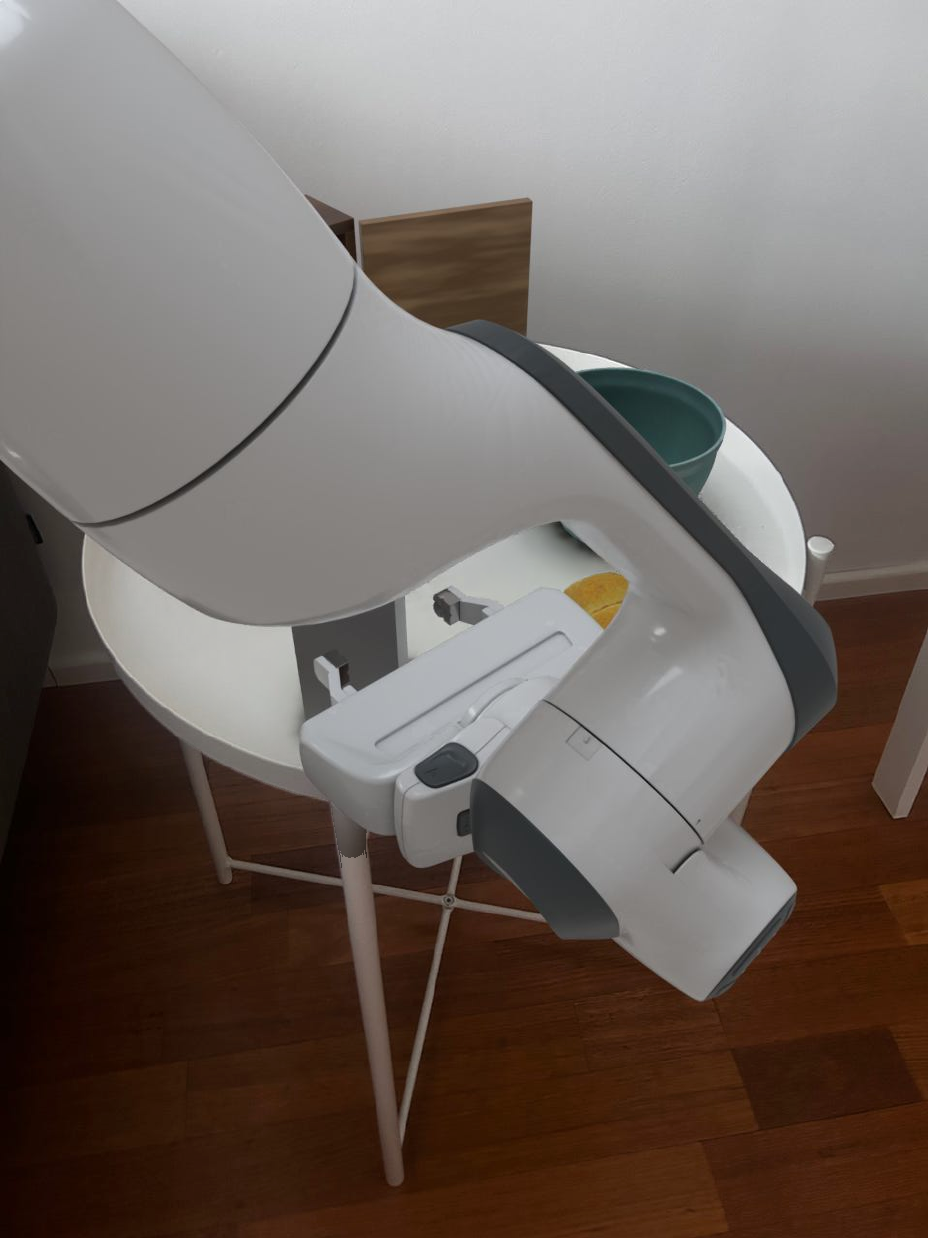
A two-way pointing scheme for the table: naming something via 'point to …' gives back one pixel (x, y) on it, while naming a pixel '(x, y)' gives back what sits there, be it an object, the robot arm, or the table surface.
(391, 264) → the cupboard door
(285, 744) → the table surface
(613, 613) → the bread roll
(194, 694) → the table surface
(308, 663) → the perfume bottle
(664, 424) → the flower pot
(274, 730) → the table surface
